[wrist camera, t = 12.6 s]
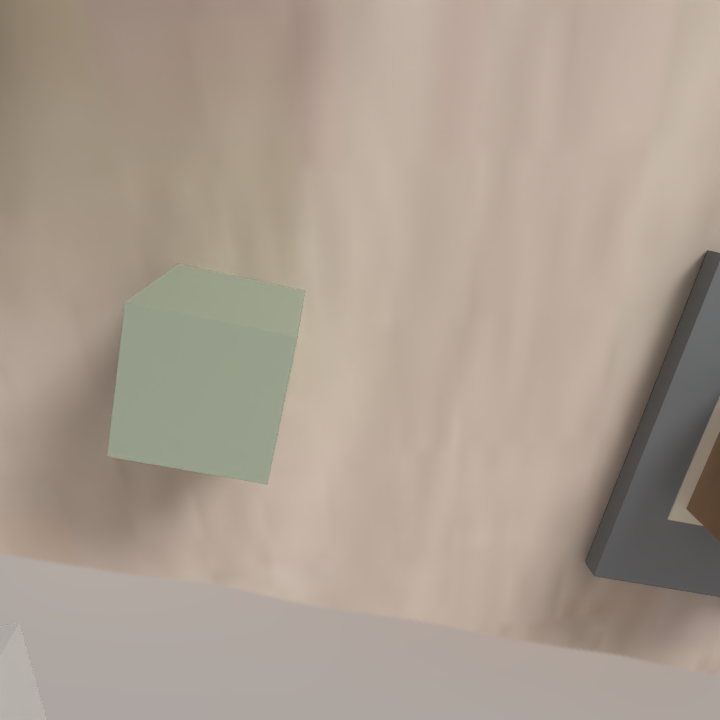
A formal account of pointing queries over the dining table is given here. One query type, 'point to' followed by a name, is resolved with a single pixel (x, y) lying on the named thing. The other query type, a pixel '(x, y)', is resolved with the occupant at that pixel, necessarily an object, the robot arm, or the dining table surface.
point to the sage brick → (204, 373)
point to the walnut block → (708, 493)
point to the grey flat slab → (670, 462)
